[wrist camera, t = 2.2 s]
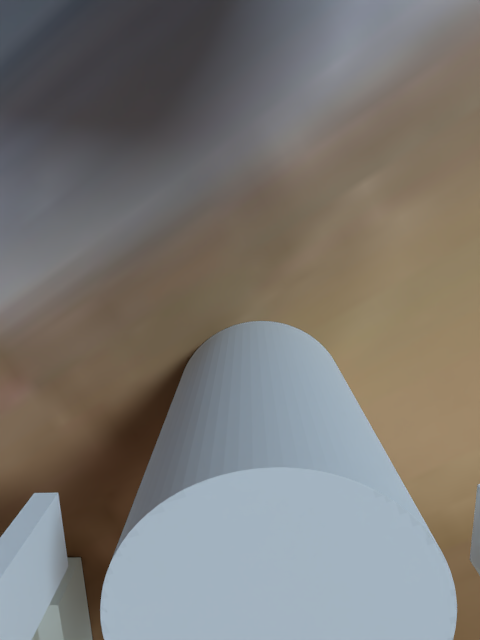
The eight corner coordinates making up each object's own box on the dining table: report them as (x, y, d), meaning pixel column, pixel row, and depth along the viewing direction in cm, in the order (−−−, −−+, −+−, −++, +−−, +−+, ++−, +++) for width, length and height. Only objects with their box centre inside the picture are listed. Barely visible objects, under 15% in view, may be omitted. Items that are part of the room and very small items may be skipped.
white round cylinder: (186, 478, 23) (125, 757, 11) (170, 326, 21) (74, 477, 9) (344, 470, 23) (447, 747, 11) (343, 315, 21) (467, 457, 9)
